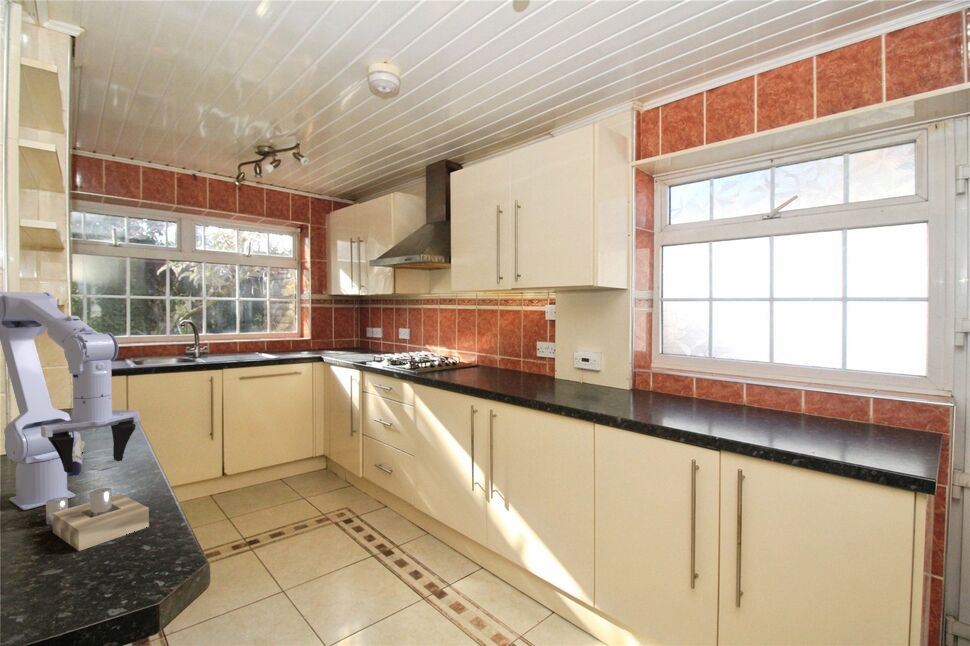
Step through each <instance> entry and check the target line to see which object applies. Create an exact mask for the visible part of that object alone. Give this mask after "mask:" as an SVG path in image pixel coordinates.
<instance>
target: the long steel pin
mask: <svg viewBox="0 0 970 646" xmlns="http://www.w3.org/2000/svg"><path fill="white" fill-rule="evenodd" d="M112 496H113V495H112V488H110V487H103V488H98V489H95V490H92V491H90V492H89V502H90V518H92V517H96V516H99V515H102V514H105V513H109V512H112Z"/></svg>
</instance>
